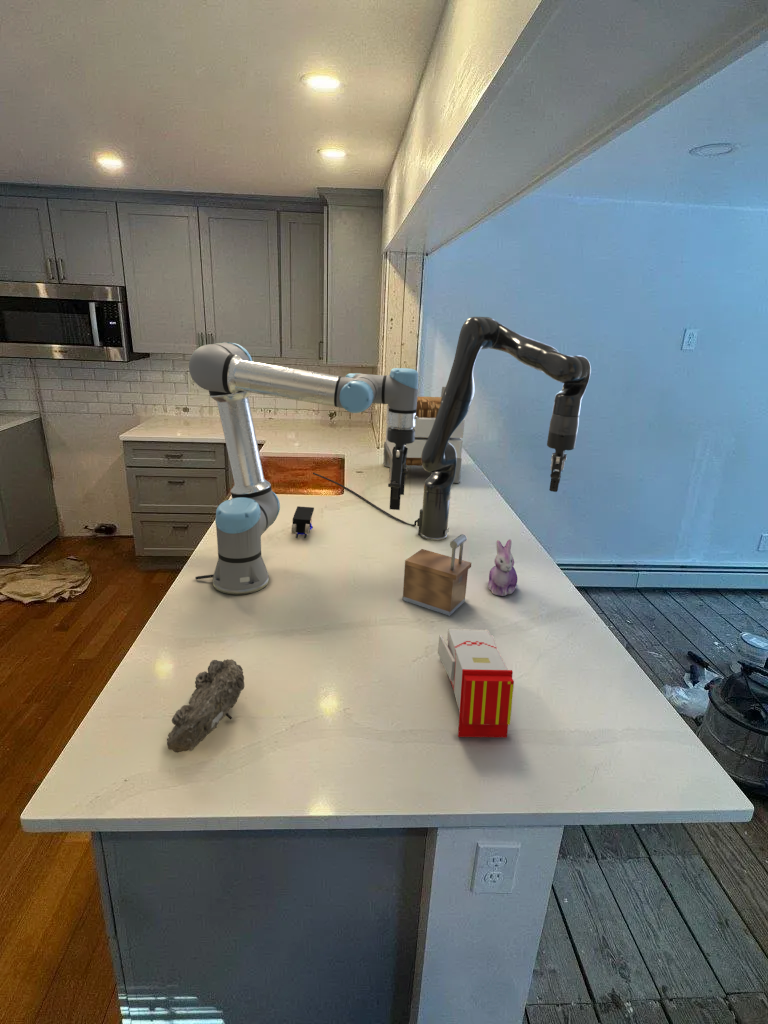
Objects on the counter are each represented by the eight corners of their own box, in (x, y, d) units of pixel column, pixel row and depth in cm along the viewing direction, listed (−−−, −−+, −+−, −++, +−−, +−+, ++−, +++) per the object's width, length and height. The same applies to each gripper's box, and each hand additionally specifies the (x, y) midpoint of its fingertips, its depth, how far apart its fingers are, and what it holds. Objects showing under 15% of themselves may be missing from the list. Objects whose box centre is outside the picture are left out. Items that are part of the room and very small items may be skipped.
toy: (488, 613, 130) (523, 677, 101) (484, 667, 133) (517, 744, 104) (435, 612, 130) (455, 676, 101) (432, 666, 133) (451, 743, 103)
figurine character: (310, 544, 191) (314, 524, 204) (310, 524, 187) (314, 505, 201) (290, 544, 190) (296, 523, 204) (290, 524, 187) (295, 504, 200)
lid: (471, 566, 151) (474, 534, 148) (456, 579, 144) (459, 545, 141) (421, 552, 159) (424, 521, 156) (404, 564, 151) (406, 531, 148)
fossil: (192, 660, 117) (244, 628, 112) (224, 691, 120) (276, 661, 115) (142, 746, 98) (202, 712, 93) (182, 779, 101) (242, 748, 96)
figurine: (500, 600, 157) (506, 550, 151) (478, 584, 165) (483, 536, 160) (526, 593, 161) (533, 545, 156) (503, 578, 169) (509, 532, 164)
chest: (464, 601, 155) (468, 566, 152) (449, 615, 148) (453, 579, 144) (419, 586, 162) (421, 553, 159) (402, 600, 155) (404, 564, 151)
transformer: (382, 463, 289) (386, 382, 275) (445, 464, 293) (451, 384, 279) (390, 482, 257) (394, 392, 243) (460, 483, 261) (468, 394, 247)
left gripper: (411, 437, 141) (406, 517, 149) (418, 419, 165) (413, 489, 172) (382, 435, 142) (378, 515, 149) (392, 418, 165) (388, 487, 173)
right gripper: (551, 424, 163) (543, 478, 169) (547, 434, 151) (538, 492, 156) (578, 427, 161) (569, 482, 166) (576, 437, 148) (566, 496, 154)
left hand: (397, 501), depth 161 cm, fingers open, 13 cm apart
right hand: (554, 487), depth 161 cm, fingers open, 8 cm apart
